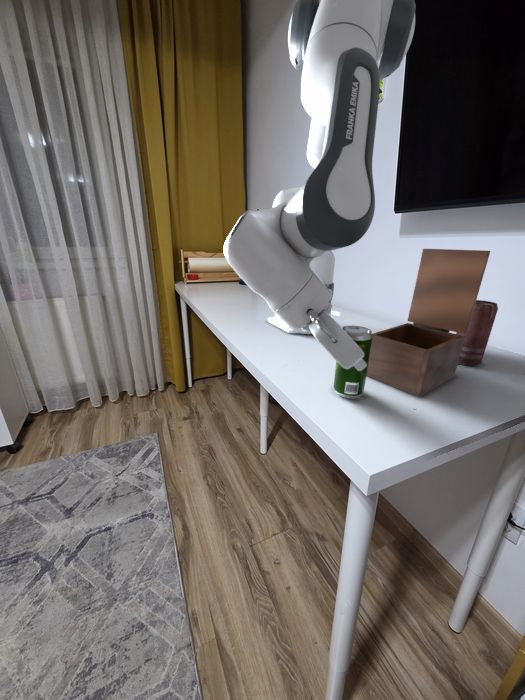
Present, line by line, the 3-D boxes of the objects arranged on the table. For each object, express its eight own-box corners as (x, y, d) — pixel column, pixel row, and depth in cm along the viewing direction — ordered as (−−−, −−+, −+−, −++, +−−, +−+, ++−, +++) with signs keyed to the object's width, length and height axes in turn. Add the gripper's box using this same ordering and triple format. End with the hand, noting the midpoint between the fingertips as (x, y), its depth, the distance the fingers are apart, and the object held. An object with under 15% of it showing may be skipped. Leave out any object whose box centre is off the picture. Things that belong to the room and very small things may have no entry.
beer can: (368, 399, 51) (378, 334, 47) (338, 399, 51) (345, 334, 46) (357, 384, 56) (365, 325, 52) (329, 385, 56) (336, 325, 51)
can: (467, 368, 64) (485, 305, 59) (443, 357, 69) (458, 299, 64) (488, 365, 65) (508, 304, 60) (463, 355, 71) (479, 298, 66)
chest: (419, 397, 52) (430, 351, 48) (363, 374, 60) (369, 334, 57) (454, 376, 60) (465, 336, 57) (400, 358, 68) (407, 322, 65)
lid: (489, 250, 51) (498, 251, 54) (422, 248, 60) (433, 249, 63) (465, 334, 56) (474, 330, 59) (407, 321, 65) (418, 318, 68)
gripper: (334, 304, 37) (397, 373, 40) (308, 281, 56) (352, 330, 60) (297, 337, 38) (361, 401, 42) (284, 304, 57) (329, 350, 61)
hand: (355, 359), depth 51 cm, fingers closed on beer can, 5 cm apart
